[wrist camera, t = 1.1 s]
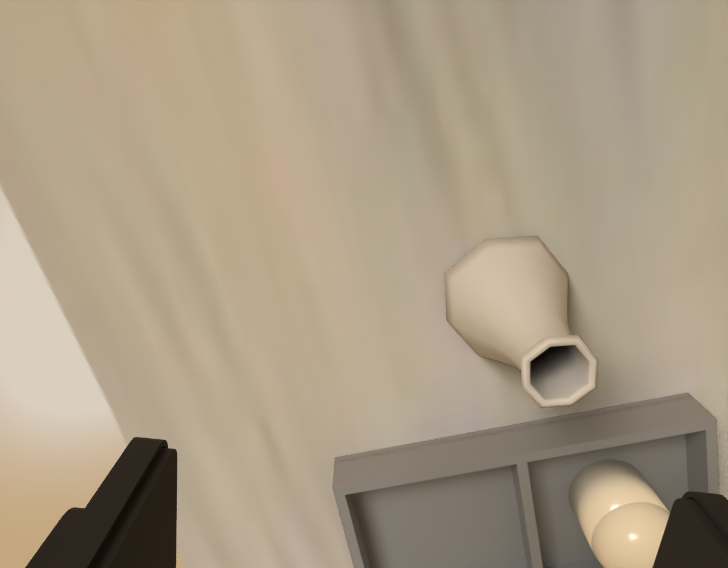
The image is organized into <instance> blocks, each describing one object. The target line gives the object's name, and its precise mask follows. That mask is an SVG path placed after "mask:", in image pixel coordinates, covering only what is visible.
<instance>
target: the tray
mask: <svg viewBox="0 0 728 568" xmlns="http://www.w3.org/2000/svg"><path fill="white" fill-rule="evenodd" d="M611 459H614V460H621V461H625V462H627V463H629V464H631V465H633V466H634V467H636V468H637V469H638V470H639V471H640V473H641V474H642V475H643V477H644V478H645V480H646V481H647V482H648V484H649V485H650V486H651V488H652V489H653V491H654V492H655V493H656V495H657V496H658V497H659V499H660V500H661V501H662V503H663V504H664V506H665V507H666V508H667V510H668V511H669V512H671V509H672V506H673V503H674V501H675V500H676V499H678V498H682V496H683V495H684V494H685V493H686V492H689V491H694V492H704V493H714V494H719V472H718V444H717V419H716V418H715V417H714V416H713V415H712V414H711V413H710V412H709V411H708V410H706V409H705V408H704V407H703V406H702V405H701V404H700V403H699V402H698V401H697V400H696V399H694V398H693V397H692V396H691V395H690V394H689V393H684V394H679V395H674V396H668V397H663V398H657V399H652V400H646V401H641V402H635V403H630V404H625V405H619V406H614V407H608V408H603V409H597V410H592V411H587V412H581V413H576V414H570V415H565V416H559V417H554V418H548V419H543V420H538V421H532V422H527V423H521V424H516V425H510V426H505V427H500V428H494V429H489V430H483V431H478V432H472V433H467V434H461V435H456V436H451V437H445V438H440V439H434V440H429V441H423V442H418V443H413V444H407V445H402V446H396V447H391V448H385V449H380V450H374V451H369V452H364V453H358V454H353V455H347V456H342V457H336V458H335V464H334V476H333V492H334V496H335V499H336V503H337V507H338V510H339V514H340V518H341V521H342V525H343V529H344V533H345V536H346V540H347V544H348V547H349V551H350V555H351V558H352V562H353V566H354V568H604V567H603V566H602V565H601V564H600V563H599V561H598V560H597V558H596V556H595V555H594V553H593V551H592V549H591V547H590V545H589V543H588V541H587V539H586V537H585V535H584V533H583V531H582V529H581V527H580V525H579V523H578V521H577V519H576V517H575V515H574V513H573V511H572V509H571V507H570V504H569V500H568V492H569V487H570V485H571V482H572V481H573V479H574V478H575V476H576V475H577V474H578V473H579V472H580V471H581V470H582V469H584V468H585V467H587V466H588V465H590V464H592V463H595V462H598V461H602V460H611Z"/></svg>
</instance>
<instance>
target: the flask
mask: <svg viewBox="0 0 728 568" xmlns="http://www.w3.org/2000/svg"><path fill="white" fill-rule="evenodd" d="M445 296H446V320H447V322H448V323H449V324H450V325H451V326H452V327H453V328H454V329H455V330H456V332H457V333H458V334H459V335H460V336H461V337H462V338H463V339H464V340H465V342H466V343H467V344H468V345H469V346H470V347H471V348H472V349H473V350H474V352H475V353H476V354H477V355H480V356H482V357H486V358H490V359H493V360H497V361H500V362H503V363H505V364H508V365H511V366H513V367H516V368H518V369H520V370H521V385H522V387H523V388H524V389H525V390H526V391H527V392H528V393H529V395H530V396H531V397H532V398H533V399H534V400H535V401H536V402H537V404H538V405H539V406H540V407H541V408H545V407H559V406H572V405H573V404H575V403H576V402H577V401H579V400H580V399H582V398H583V397H584V396H586V395H587V394H588V393H590V392H591V391H593V390H594V389H595V388H597V366H598V360H597V358H596V357H595V356H594V354H593V353H592V352H591V351H590V350H589V348H588V347H587V346H586V345H585V344H584V342H583V341H582V340H581V339H580V338H579V336H577V335H571V332H570V329H569V326H568V315H567V296H568V273H567V272H566V270H565V269H564V268H563V267H562V266H561V264H560V263H559V262H558V261H557V259H556V258H555V257H554V256H553V254H552V253H551V252H550V251H549V250H548V248H547V247H546V246H545V245H544V243H543V242H542V241H541V240H540V238H539V237H538V236H527V237H514V238H501V239H489V240H484V241H483V242H482V243H480V244H479V245H478V246H477V247H476V248H474V249H473V250H472V251H471V252H469V253H468V254H467V255H466V256H465V257H463V258H462V259H461V260H460V261H458V262H457V263H456V264H455V265H453V266H452V267H451V268H450V269H449V270H447V271H446V272H445Z"/></svg>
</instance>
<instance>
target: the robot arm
mask: <svg viewBox="0 0 728 568" xmlns="http://www.w3.org/2000/svg"><path fill="white" fill-rule="evenodd" d="M176 520H177V451H176V449H169V448H168V444H167V441H166V440H161V439H150V438H140V437H135V438H133V439H132V440H131V442H130V443H129V444H128V446H127V447H126V449H125V450H124V452H123V453H122V455H121V456H120V458H119V459H118V461H117V462H116V463H115V465H114V467H113V468H112V470H111V471H110V472H109V474H108V475H107V477H106V478H105V480H104V481H103V482H102V484H101V485H100V487H99V488H98V490H97V491H96V493H95V494H94V496H93V497H92V499H91V500H90V502H89V503H88V504H87V506H86V507H85V508H71V509H69V510H68V511H67V512H66V513H65V514H64V515H63V516H62V518H61V519H60V520H59V522H58V523H57V525H56V526H55V527H54V529H53V530H52V532H51V533H50V534H49V536H48V537H47V538H46V540H45V541H44V543H43V544H42V545H41V547H40V548H39V549H38V551H37V552H36V554H35V555H34V556H33V558H32V559H31V560H30V562H29V563H28V565H27V566H26V567H25V568H176ZM652 568H728V500H727V499H726V498H725V497H724V496H723V495H720V494H714V493H704V492H694V491H689V492H686V493H685V494H684V495H683V496H682V498H678V499H676V500H675V501H674V503H673V506H672V509H671V512H670V515H669V518H668V521H667V524H666V527H665V530H664V533H663V536H662V540H661V543H660V546H659V549H658V552H657V555H656V558H655V561H654V564H653V567H652Z"/></svg>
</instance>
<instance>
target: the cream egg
mask: <svg viewBox="0 0 728 568" xmlns="http://www.w3.org/2000/svg"><path fill="white" fill-rule="evenodd" d="M568 500H569V504H570V507H571V509H572V511H573V513H574V515H575V517H576V519H577V521H578V523H579V525H580V527H581V529H582V531H583V533H584V535H585V537H586V539H587V541H588V543H589V545H590V547H591V549H592V551H593V553H594V555H595V556H596V558H597V560H598V561H599V563H600V564H601V565H602V566H603V567H604V568H652V567H653V564H654V561H655V558H656V555H657V552H658V549H659V546H660V543H661V540H662V536H663V533H664V530H665V527H666V524H667V521H668V518H669V515H670V512H669V511H668V510H667V508H666V507H665V506H664V504H663V503H662V501H661V500H660V499H659V497H658V496H657V495H656V493H655V492H654V491H653V489H652V488H651V486H650V485H649V484H648V482H647V481H646V480H645V478H644V477H643V475H642V474H641V473H640V471H639V470H638V469H637V468H636V467H634V466H633V465H631V464H629V463H627V462H625V461H621V460H614V459H611V460H602V461H598V462H595V463H592V464H590V465H588V466H587V467H585V468H584V469H582V470H581V471H580V472H579V473H578V474H577V475H576V476H575V478H574V479H573V481H572V482H571V485H570V487H569V492H568Z"/></svg>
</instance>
